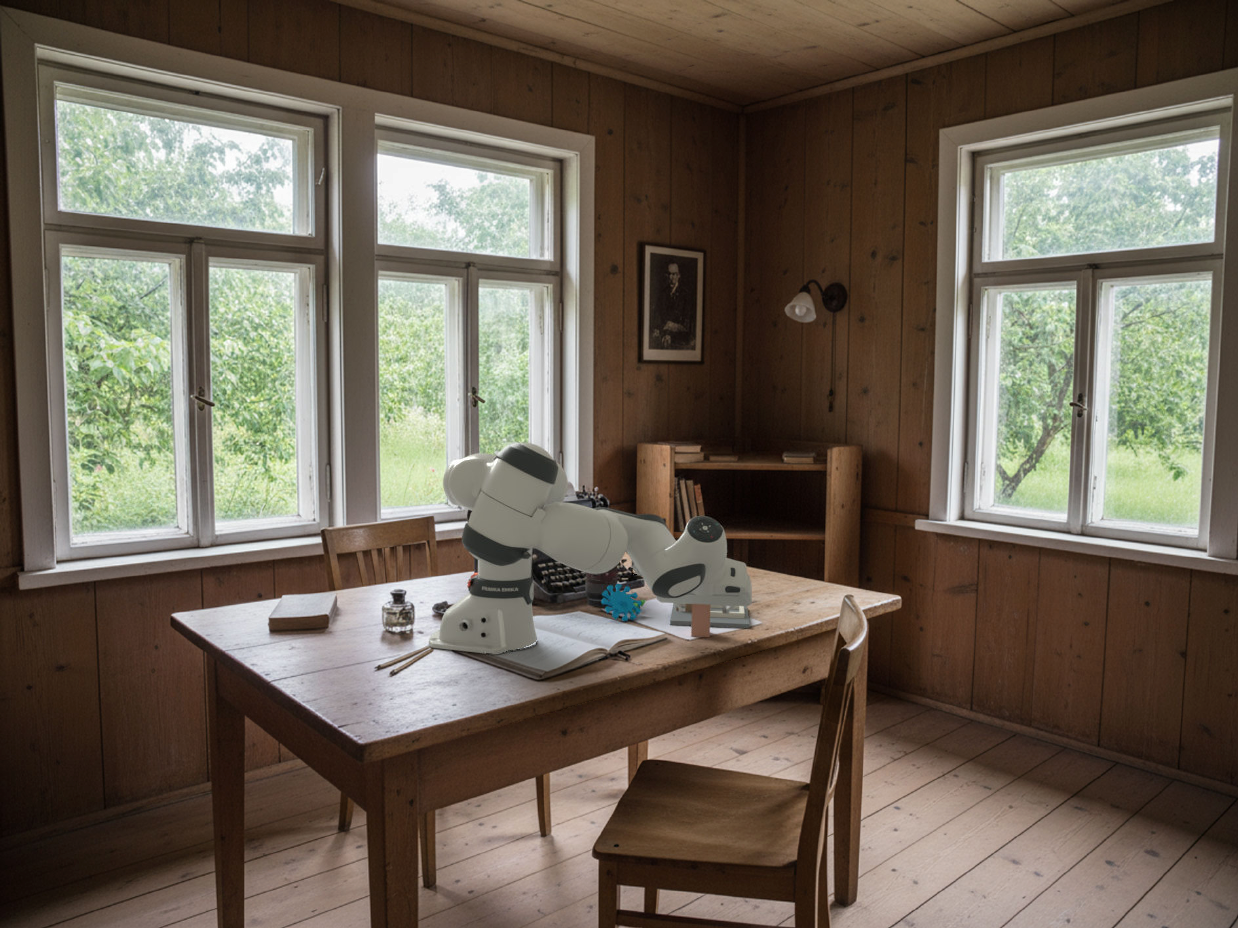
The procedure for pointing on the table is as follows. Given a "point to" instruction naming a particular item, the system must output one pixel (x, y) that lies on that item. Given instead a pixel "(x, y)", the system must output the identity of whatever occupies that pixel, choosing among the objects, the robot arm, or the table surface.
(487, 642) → the robot arm
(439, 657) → the table surface
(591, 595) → the camera lens
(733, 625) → the base plate
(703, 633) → the pillar block
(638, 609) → the gear
